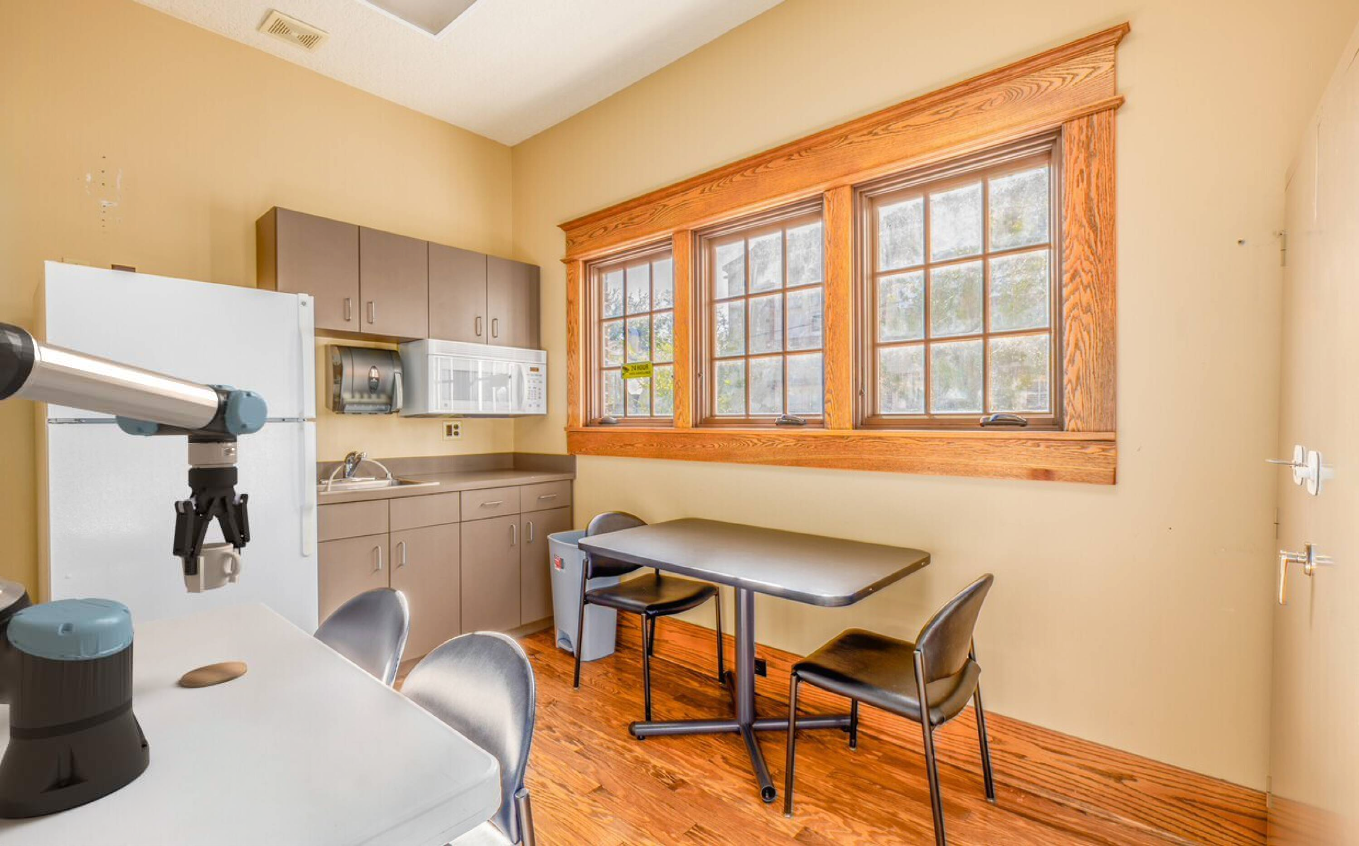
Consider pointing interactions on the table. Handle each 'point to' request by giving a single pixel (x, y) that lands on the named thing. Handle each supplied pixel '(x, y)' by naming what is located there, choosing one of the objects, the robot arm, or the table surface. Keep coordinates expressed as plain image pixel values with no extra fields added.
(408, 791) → the table surface
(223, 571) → the cup
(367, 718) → the table surface
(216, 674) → the coaster
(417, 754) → the table surface
